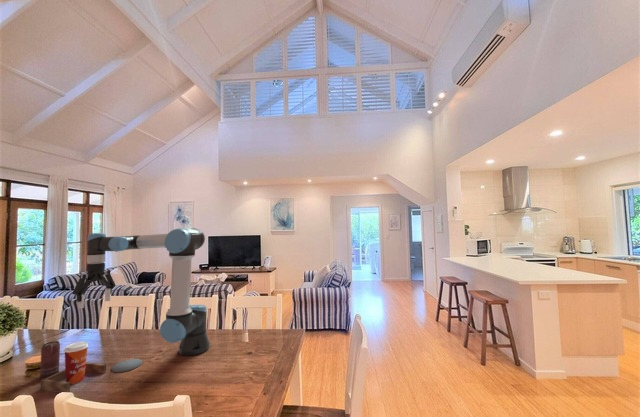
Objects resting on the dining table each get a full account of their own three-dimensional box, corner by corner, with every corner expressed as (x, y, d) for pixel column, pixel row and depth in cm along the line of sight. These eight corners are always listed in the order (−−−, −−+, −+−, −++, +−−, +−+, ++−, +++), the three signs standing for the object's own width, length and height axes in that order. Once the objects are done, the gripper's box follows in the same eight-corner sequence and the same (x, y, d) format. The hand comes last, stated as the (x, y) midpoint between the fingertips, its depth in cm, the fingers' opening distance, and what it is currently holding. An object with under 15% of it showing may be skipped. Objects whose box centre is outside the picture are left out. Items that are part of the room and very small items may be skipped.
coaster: (148, 361, 139) (148, 359, 139) (126, 373, 127) (126, 372, 127) (127, 359, 142) (127, 357, 142) (104, 371, 130) (104, 369, 130)
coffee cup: (72, 386, 117) (74, 349, 118) (57, 384, 119) (58, 348, 120) (92, 376, 126) (93, 341, 127) (77, 374, 127) (79, 340, 128)
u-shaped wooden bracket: (106, 372, 129) (106, 364, 129) (66, 393, 113) (66, 384, 113) (82, 369, 132) (82, 361, 132) (40, 389, 116) (40, 380, 116)
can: (42, 380, 123) (44, 347, 123) (38, 376, 126) (39, 344, 127) (61, 374, 128) (62, 342, 129) (56, 370, 131) (57, 339, 132)
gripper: (113, 259, 161) (112, 298, 159) (63, 266, 137) (62, 311, 135) (123, 260, 159) (122, 298, 157) (75, 266, 135) (74, 311, 133)
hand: (94, 304), depth 146 cm, fingers open, 13 cm apart
